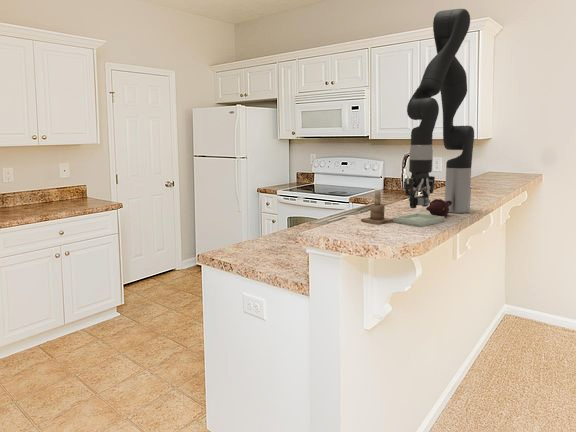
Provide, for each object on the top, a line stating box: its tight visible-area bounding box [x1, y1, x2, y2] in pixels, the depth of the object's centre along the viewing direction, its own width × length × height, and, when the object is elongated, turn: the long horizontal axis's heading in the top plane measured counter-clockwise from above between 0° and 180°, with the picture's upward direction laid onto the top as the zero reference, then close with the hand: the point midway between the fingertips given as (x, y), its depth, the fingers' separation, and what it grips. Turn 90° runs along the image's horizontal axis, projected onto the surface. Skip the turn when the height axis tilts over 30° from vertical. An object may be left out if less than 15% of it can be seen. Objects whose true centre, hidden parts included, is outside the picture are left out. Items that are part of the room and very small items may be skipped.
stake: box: [360, 189, 394, 226], centre depth 162 cm, size 8×8×11 cm
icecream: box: [425, 198, 452, 217], centre depth 171 cm, size 7×7×15 cm
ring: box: [408, 195, 431, 206], centre depth 160 cm, size 8×6×2 cm
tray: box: [392, 212, 445, 228], centre depth 161 cm, size 14×12×2 cm
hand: (419, 206), depth 160 cm, fingers closed on ring, 6 cm apart
